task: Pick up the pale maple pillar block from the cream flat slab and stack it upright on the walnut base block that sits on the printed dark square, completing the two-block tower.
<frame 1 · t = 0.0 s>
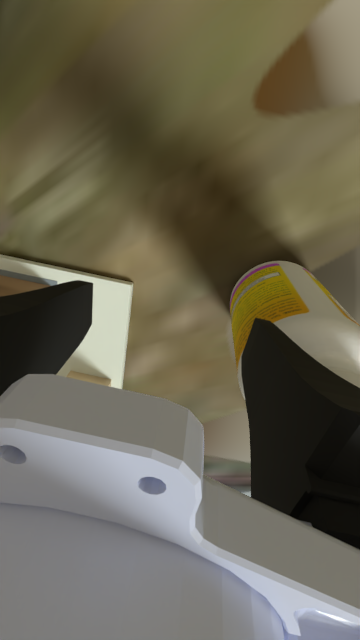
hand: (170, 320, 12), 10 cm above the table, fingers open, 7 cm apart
walnut base: (23, 306, 24), point 1 cm above the table, touching cream flat slab
supplement bottle: (272, 299, 22), on the table, touching gripper
cream flat slab: (62, 347, 26), on the table
maple pillar: (90, 390, 28), point 1 cm above the table, touching cream flat slab
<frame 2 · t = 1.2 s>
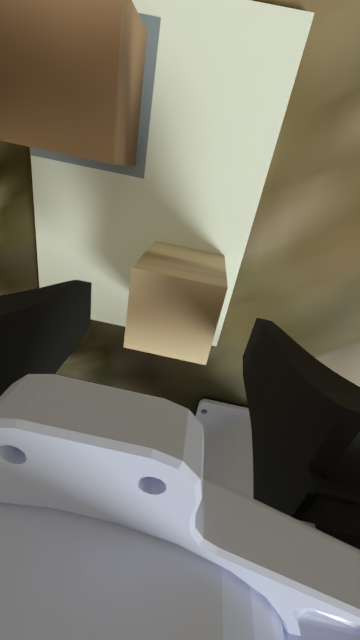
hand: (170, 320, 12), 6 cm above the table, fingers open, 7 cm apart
walnut base: (87, 94, 13), point 1 cm above the table, touching cream flat slab
cream flat slab: (144, 198, 15), on the table
maple pillar: (183, 281, 17), point 1 cm above the table, touching cream flat slab
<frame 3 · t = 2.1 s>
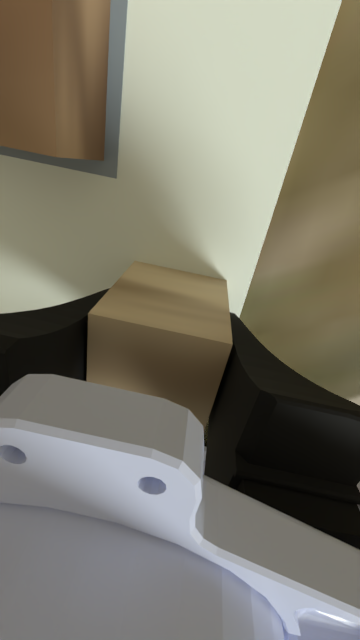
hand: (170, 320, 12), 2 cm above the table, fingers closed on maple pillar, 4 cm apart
walnut base: (32, 58, 9), point 1 cm above the table, touching cream flat slab
cream flat slab: (119, 204, 12), on the table
maple pillar: (172, 311, 13), point 1 cm above the table, touching cream flat slab, gripper
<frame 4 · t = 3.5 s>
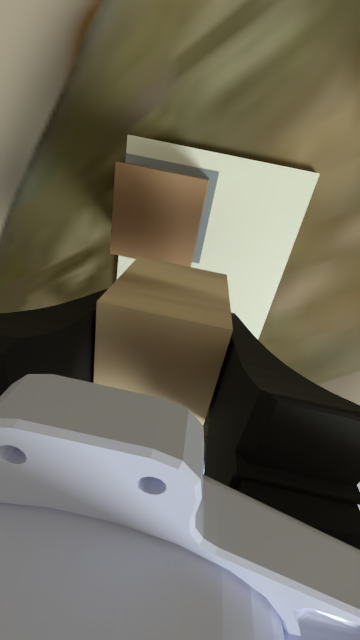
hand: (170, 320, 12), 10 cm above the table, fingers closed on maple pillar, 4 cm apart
walnut base: (165, 212, 19), point 1 cm above the table, touching cream flat slab
cream flat slab: (196, 273, 22), on the table
maple pillar: (175, 305, 13), point 9 cm above the table, touching gripper
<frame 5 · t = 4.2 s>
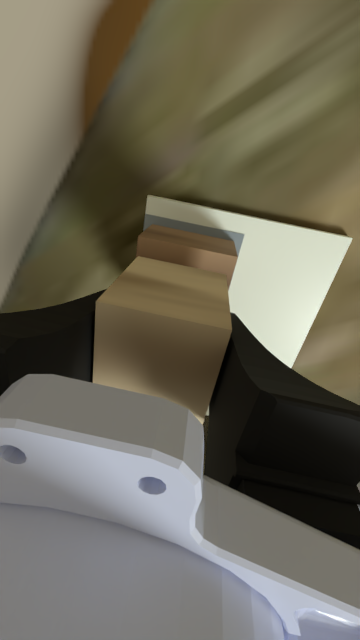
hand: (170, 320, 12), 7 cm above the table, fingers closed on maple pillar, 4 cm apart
walnut base: (185, 271, 18), point 1 cm above the table, touching cream flat slab
cream flat slab: (216, 329, 21), on the table
maple pillar: (174, 305, 13), point 6 cm above the table, touching gripper
when the fingers open (6 cm above the table, at t = 4.8 s): maple pillar stays where it is, resting on walnut base.
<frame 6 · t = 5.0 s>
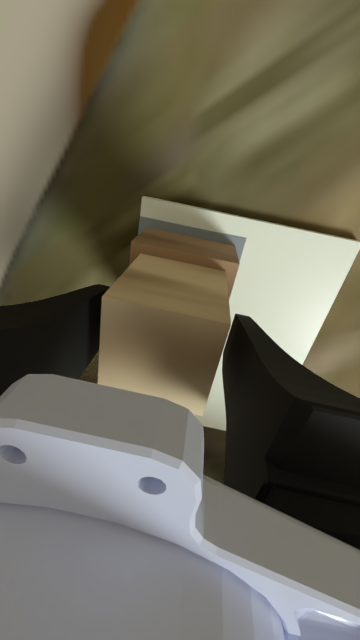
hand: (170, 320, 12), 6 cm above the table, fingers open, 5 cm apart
walnut base: (183, 277, 17), point 1 cm above the table, touching cream flat slab, maple pillar
cream flat slab: (215, 337, 19), on the table
maple pillar: (175, 301, 14), point 4 cm above the table, touching walnut base
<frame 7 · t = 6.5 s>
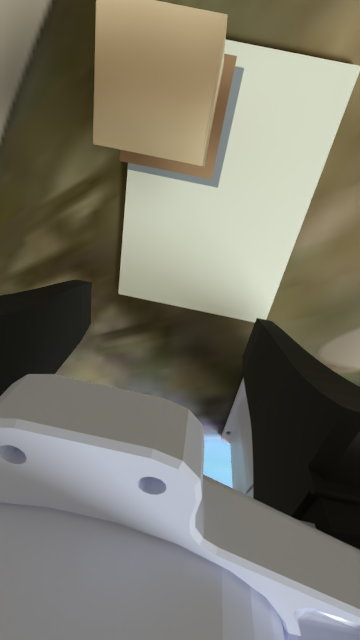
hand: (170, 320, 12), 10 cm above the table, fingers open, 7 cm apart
walnut base: (180, 123, 17), point 1 cm above the table, touching cream flat slab, maple pillar
cream flat slab: (214, 203, 19), on the table
maple pillar: (172, 112, 14), point 4 cm above the table, touching walnut base
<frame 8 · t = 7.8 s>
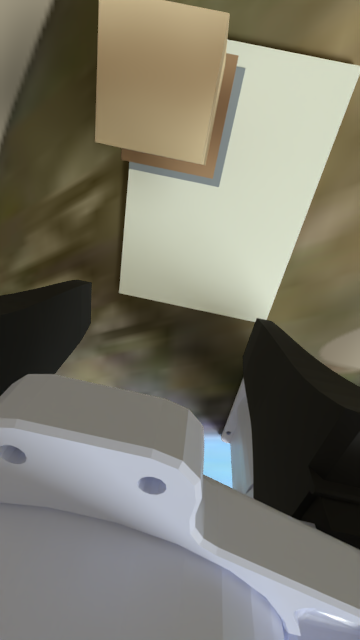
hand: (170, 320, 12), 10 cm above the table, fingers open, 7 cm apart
walnut base: (182, 122, 17), point 1 cm above the table, touching cream flat slab, maple pillar
cream flat slab: (215, 202, 19), on the table
maple pillar: (174, 111, 14), point 4 cm above the table, touching walnut base
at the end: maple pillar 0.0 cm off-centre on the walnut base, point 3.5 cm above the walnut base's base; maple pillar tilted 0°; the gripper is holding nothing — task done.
